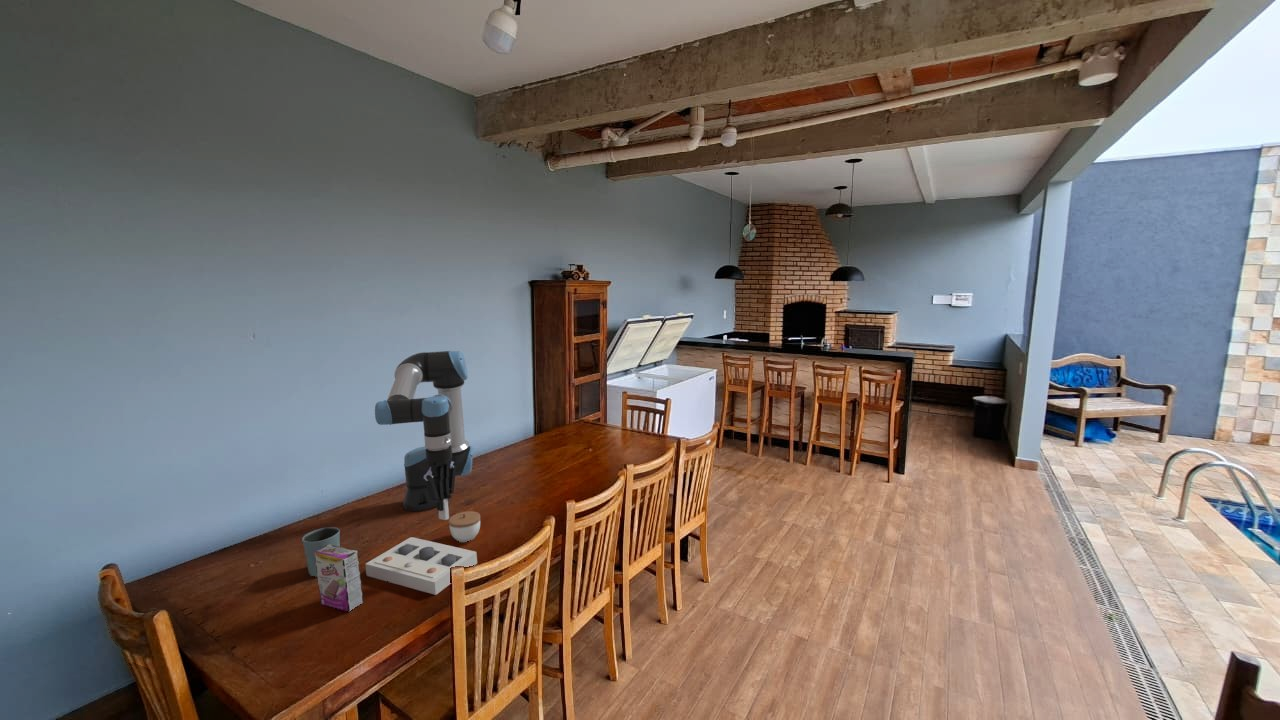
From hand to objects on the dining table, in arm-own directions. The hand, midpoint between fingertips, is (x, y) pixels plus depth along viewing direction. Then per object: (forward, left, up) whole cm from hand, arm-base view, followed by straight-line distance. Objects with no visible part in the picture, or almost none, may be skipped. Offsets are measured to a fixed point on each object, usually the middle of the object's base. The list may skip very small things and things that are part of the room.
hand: (444, 518), depth 158 cm
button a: (+2, -16, -15) cm, 22 cm away
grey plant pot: (+15, -37, -17) cm, 43 cm away
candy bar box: (+26, -15, -17) cm, 34 cm away
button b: (+2, -7, -14) cm, 16 cm away
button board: (+4, -7, -17) cm, 19 cm away
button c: (+2, +2, -15) cm, 16 cm away
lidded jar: (-17, -8, -17) cm, 26 cm away
